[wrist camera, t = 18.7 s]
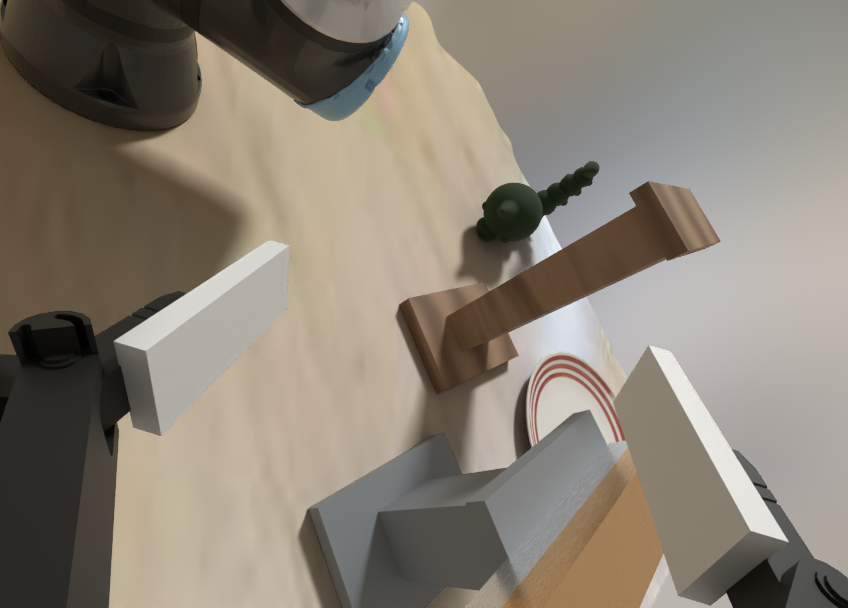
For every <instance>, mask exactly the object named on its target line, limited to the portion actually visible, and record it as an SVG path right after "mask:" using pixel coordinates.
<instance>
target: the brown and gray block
mask: <svg viewBox="0 0 848 608" xmlns="http://www.w3.org/2000/svg"><path fill="white" fill-rule="evenodd" d="M663 553H664V552H663V549H662V546H661V543H660V540H659V538H658V535H657V532H656V529H655V526H654V523H653V520H652V517H651V514H650V511H649V508H648V505H647V502H646V499H645V496H644V493H643V490H642V487H641V484H640V481H639V478H638V475H637V472H636V469H635V466H634V463H633V461H632V458H631V455H630V452H629V449H628V446H627V443H626V440H625V441H619V442H614V443H609V444H608V445H607V447H606V448H605V449H604V450H603V451H602V452H601V453H600V454H599V456H598V457H597V458H596V459H595V460H594V461H593V462H592V464H591V465H590V466H589V467H588V468H587V469H586V470H585V471H584V473H583V474H582V475H581V476H580V477H579V478H578V479H577V480H576V482H575V483H574V484H573V485H572V486H571V487H570V488H569V490H568V491H567V492H566V493H565V494H564V495H563V496H562V497H561V499H560V500H559V501H558V502H557V503H556V504H555V505H554V506H553V508H552V509H551V510H550V511H549V512H548V513H547V514H546V516H545V517H544V518H543V519H542V520H541V521H540V522H539V523H538V525H537V526H536V527H535V528H534V529H533V530H532V531H531V532H530V534H529V535H528V536H527V537H526V538H525V539H524V540H523V542H522V543H521V544H520V545H519V546H518V547H517V548H516V549H515V551H514V552H513V553H512V554H511V555H510V556H509V557H508V558H507V560H506V561H505V562H504V563H503V564H502V565H501V566H500V567H499V569H498V570H497V571H496V572H495V573H494V574H493V575H492V577H491V578H490V579H489V580H488V581H487V582H486V583H485V584H484V586H483V587H482V588H481V589H480V590H479V591H478V592H477V593H476V595H475V596H474V597H473V598H472V599H471V600H470V601H469V603H468V604H467V605H466V606H465V607H464V608H639V607H640V605H641V603H642V600H643V598H644V596H645V594H646V591H647V589H648V587H649V585H650V582H651V580H652V578H653V575H654V573H655V571H656V569H657V566H658V564H659V562H660V560H661V557H662V555H663Z"/></svg>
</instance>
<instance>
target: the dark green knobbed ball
mask: <svg viewBox="0 0 848 608" xmlns="http://www.w3.org/2000/svg"><path fill="white" fill-rule="evenodd" d="M598 171H599V165H598V163H597V162H594V161H590V162H588V163H587V164H586V165H585V166H584V167H581V168H579V169H577V170H576V171H575V172H574V174H567V175H566V176H565V177H564V178H563V179H562V180H561V182H560V183H554V184H552V185H551V186H549V188H548V189H547V190H542V191H540V192H538V193H536V192H535V191H534V190H533V189H532V188H530V187H529V186H527V185H524V184H521V183H507V184H504V185H502V186H500V187H498V188H496V189H495V190H494V191H493V192H492V193H491V194H490V196H489V197H488V199H487V200H486V202H484V203H483V205H482V209H483V210H484V217H483V218H481V219H479V220H478V222H477V225H476V227H477V231H478V233H479V234H480V236H481V237H482V238H483V239H484V240H485V241H493V240H494V239H495V238H496V237H498V238H499V239H501V240H502V241H503V242H508V241H509V242H513V241H518V240H522V239H524V238H527V237H528V236H530V235H531V234H532V233H533V232H534V231H535V230H536V229H537V227H538V226H539V224H540V221H541V219H542V218H543V216H544V215H549V214H551V213H552V212H553V211H554V210H555V208H556V206H560V205H562V206H564V205H566V204H567V200H568V198H569V196H574V195H575V196H579V195H580V194H581V188H582V187H585V186H590V185H591V184H592V179H593V177H594V176H595V175H596V174H597V173H598Z"/></svg>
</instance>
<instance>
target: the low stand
mask: <svg viewBox="0 0 848 608" xmlns="http://www.w3.org/2000/svg"><path fill="white" fill-rule="evenodd" d="M606 447H607V443H606V441H605V439H604V437H603V435H602V433H601V431H600V429H599V427H598V425H597V423H596V421H595V419H594V417H593V415H592V413H591V411H590V409H589V410H585V411H581V412H577V413H573V414H572V415H571V416H569V417H568V418H567V419H566V420H565V421H563V422H562V423H561V424H560V425H559V426H557V427H556V428H555V429H554V430H553V431H551V432H550V433H549V434H548V435H546V436H545V437H544V438H543V439H542V440H540V441H539V442H538V443H537V444H536V445H534V446H533V447H532V448H531V449H530V450H528V451H527V452H526V453H525V454H524V455H522V456H521V457H520V458H519V459H517V460H516V461H515V462H514V463H513V464H511V465H510V466H509V467H508V468H502V469H495V470H489V471H482V472H476V473H469V474H462V473H461V471H460V469H459V466H458V464H457V461H456V459H455V457H454V454H453V452H452V449H451V447H450V445H449V442H448V440H447V437H446V435H445V433H441V434H438V435H434V436H432V437H430V438H428V439H427V440H425V441H423V442H422V443H420V444H418V445H416V446H415V447H413V448H411V449H410V450H408V451H406V452H404V453H403V454H401V455H399V456H398V457H396V458H394V459H392V460H391V461H389V462H387V463H386V464H384V465H382V466H380V467H379V468H377V469H375V470H374V471H372V472H370V473H368V474H367V475H365V476H363V477H361V478H360V479H358V480H356V481H355V482H353V483H351V484H349V485H348V486H346V487H344V488H343V489H341V490H339V491H337V492H336V493H334V494H332V495H331V496H329V497H327V498H325V499H324V500H322V501H320V502H319V503H317V504H315V505H313V506H312V507H310V508H308V510H309V513H310V516H311V519H312V522H313V525H314V528H315V530H316V533H317V536H318V539H319V542H320V545H321V548H322V551H323V554H324V557H325V560H326V563H327V566H328V569H329V572H330V575H331V577H332V580H333V583H334V586H335V589H336V592H337V595H338V598H339V601H340V604H341V607H342V608H425V606H426V605H427V604H428V603H429V602H430V601H431V600H432V599H433V598H434V597H435V596H436V595H437V594H438V593H439V592H440V591H441V590H442V589H443V588H444V587H445V586H451V587H458V588H465V589H472V590H480V589H481V588H482V587H483V586H484V584H485V583H486V582H487V581H488V580H489V579H490V578H491V577H492V575H493V574H494V573H495V572H496V571H497V570H498V569H499V567H500V566H501V565H502V564H503V563H504V562H505V561H506V560H507V558H508V557H509V556H510V555H511V554H512V553H513V552H514V551H515V549H516V548H517V547H518V546H519V545H520V544H521V543H522V542H523V540H524V539H525V538H526V537H527V536H528V535H529V534H530V532H531V531H532V530H533V529H534V528H535V527H536V526H537V525H538V523H539V522H540V521H541V520H542V519H543V518H544V517H545V516H546V514H547V513H548V512H549V511H550V510H551V509H552V508H553V506H554V505H555V504H556V503H557V502H558V501H559V500H560V499H561V497H562V496H563V495H564V494H565V493H566V492H567V491H568V490H569V488H570V487H571V486H572V485H573V484H574V483H575V482H576V480H577V479H578V478H579V477H580V476H581V475H582V474H583V473H584V471H585V470H586V469H587V468H588V467H589V466H590V465H591V464H592V462H593V461H594V460H595V459H596V458H597V457H598V456H599V454H600V453H601V452H602V451H603V450H604V449H605V448H606Z"/></svg>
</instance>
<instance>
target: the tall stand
mask: <svg viewBox="0 0 848 608" xmlns="http://www.w3.org/2000/svg"><path fill="white" fill-rule="evenodd" d="M629 194H630V195H631V197H632V199H633V201H634V202H635V204H636V207H634V208H633V209H631V210H629V211H627V212H625V213H624V214H622V215H620V216H619V217H617V218H615V219H614V220H612V221H610V222H608V223H607V224H605V225H603V226H601V227H600V228H598V229H596V230H595V231H593V232H591V233H589V234H588V235H586V236H584V237H583V238H581V239H579V240H577V241H576V242H574V243H572V244H570V245H569V246H567V247H565V248H564V249H562V250H560V251H558V252H557V253H555V254H553V255H552V256H550V257H548V258H546V259H545V260H543V261H541V262H539V263H538V264H536V265H534V266H533V267H531V268H529V269H527V270H526V271H524V272H522V273H521V274H519V275H517V276H515V277H514V278H512V279H510V280H509V281H507V282H505V283H503V284H502V285H500V286H498V287H497V288H495V289H493V290H491V291H490V292H489V291H488V289H487V287H486V285H485V283H479V284H475V285H470V286H465V287H460V288H456V289H451V290H446V291H441V292H436V293H432V294H427V295H422V296H417V297H413V298H408V299H407V300H406V301H404V302H403V303H401V304H400V307H401V310H402V312H403V314H404V317H405V319H406V321H407V324H408V326H409V329H410V331H411V333H412V336H413V338H414V340H415V343H416V345H417V348H418V350H419V352H420V355H421V357H422V360H423V362H424V364H425V367H426V369H427V371H428V374H429V376H430V379H431V381H432V383H433V386H434V388H435V390H436V393H437V394H438V393H440V392H443V391H446V390H448V389H450V388H452V387H454V386H456V385H458V384H461V383H463V382H465V381H467V380H469V379H471V378H473V377H475V376H477V375H479V374H481V373H483V372H486V371H488V370H490V369H492V368H494V367H496V366H498V365H500V364H502V363H504V362H506V361H508V360H511V359H513V358H515V357H517V356H519V355H518V353H517V351H516V349H515V347H514V345H513V343H512V340H511V338H510V336H509V334H508V332H510V331H512V330H515V329H517V328H519V327H521V326H523V325H525V324H528V323H530V322H532V321H534V320H536V319H538V318H541V317H543V316H545V315H547V314H549V313H551V312H553V311H556V310H558V309H560V308H562V307H564V306H566V305H569V304H571V303H573V302H575V301H577V300H579V299H582V298H584V297H586V296H588V295H590V294H592V293H595V292H597V291H599V290H601V289H603V288H605V287H607V286H609V285H612V284H614V283H616V282H618V281H620V280H623V279H625V278H627V277H629V276H631V275H633V274H636V273H637V272H640V271H642V270H644V269H646V268H648V267H651V266H653V265H655V264H657V263H659V262H662V261H663V260H666V259H667V261H668V260H671V259H675V258H677V257H681V256H684V255H687V254H690V253H693V252H696V251H699V250H702V249H705V248H707V247H710V246H712V245H714V244H716V243H718V242H720V240H719V238H718V236H717V234H716V233H715V231H714V229H713V228H712V226H711V224H710V223H709V221H708V219H707V218H706V216H705V214H704V213H703V211H702V209H701V208H700V206H699V204H698V203H697V201H696V199H695V198H694V196H693V194H692V193H691V191H690V189H686V188H681V187H675V186H670V185H665V184H659V183H654V182H649V181H648V182H646V183H645V184H643V185H642V186H640V187H638V188H637V189H635V190H633V191H632V192H630V193H629Z"/></svg>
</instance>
